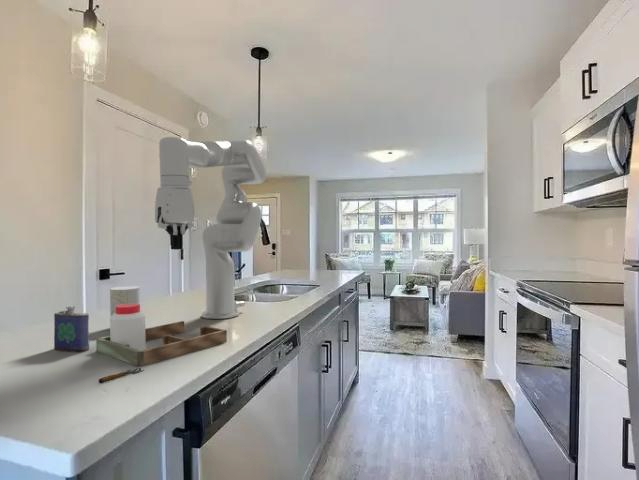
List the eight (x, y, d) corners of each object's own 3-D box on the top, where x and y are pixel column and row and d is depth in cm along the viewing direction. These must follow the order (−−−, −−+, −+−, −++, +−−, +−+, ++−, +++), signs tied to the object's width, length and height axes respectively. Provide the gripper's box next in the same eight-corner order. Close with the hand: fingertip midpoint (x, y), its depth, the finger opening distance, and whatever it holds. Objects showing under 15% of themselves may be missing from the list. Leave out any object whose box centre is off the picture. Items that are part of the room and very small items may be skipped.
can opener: (100, 385, 75) (100, 379, 75) (95, 382, 77) (95, 376, 77) (146, 372, 82) (146, 366, 82) (141, 370, 84) (140, 364, 84)
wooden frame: (182, 331, 115) (182, 320, 115) (226, 341, 104) (226, 330, 104) (96, 351, 96) (96, 338, 96) (139, 366, 85) (138, 352, 85)
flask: (91, 349, 98) (90, 305, 97) (82, 352, 95) (81, 308, 95) (60, 347, 100) (59, 304, 99) (49, 350, 97) (49, 306, 97)
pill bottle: (112, 347, 99) (112, 303, 99) (146, 344, 101) (146, 301, 101) (108, 356, 92) (107, 309, 91) (144, 353, 94) (144, 307, 94)
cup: (104, 328, 119) (104, 288, 119) (128, 323, 126) (128, 285, 126) (122, 331, 115) (121, 290, 115) (146, 326, 122) (145, 287, 122)
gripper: (188, 185, 119) (190, 247, 120) (142, 182, 106) (144, 250, 107) (205, 184, 114) (207, 247, 115) (158, 180, 102) (161, 251, 103)
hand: (176, 249), depth 111 cm, fingers closed
